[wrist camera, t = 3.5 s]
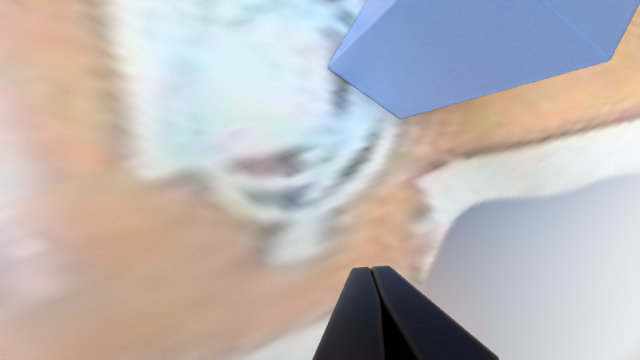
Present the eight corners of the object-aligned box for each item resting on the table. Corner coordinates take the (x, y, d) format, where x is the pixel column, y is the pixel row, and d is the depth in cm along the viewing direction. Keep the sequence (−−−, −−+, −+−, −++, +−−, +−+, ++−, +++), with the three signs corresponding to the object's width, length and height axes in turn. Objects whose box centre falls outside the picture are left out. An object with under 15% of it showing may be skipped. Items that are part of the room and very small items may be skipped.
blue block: (400, 119, 21) (611, 61, 10) (326, 67, 20) (465, -68, 9) (438, 53, 22) (683, -78, 10) (368, -2, 21) (553, -217, 9)
